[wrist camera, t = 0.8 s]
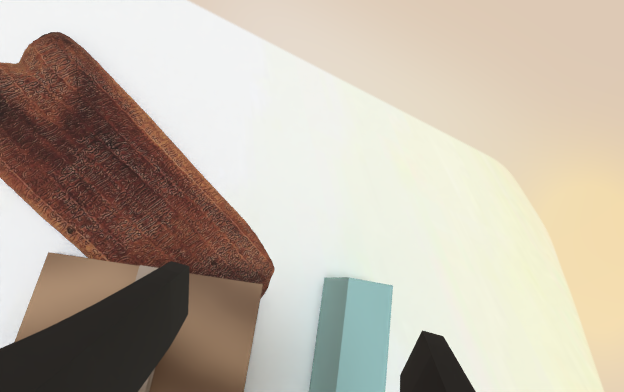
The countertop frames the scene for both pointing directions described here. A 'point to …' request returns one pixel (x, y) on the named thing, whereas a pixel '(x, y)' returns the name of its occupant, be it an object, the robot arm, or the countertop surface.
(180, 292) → the robot arm
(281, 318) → the countertop surface
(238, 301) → the ridge
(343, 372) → the teal rectangular bar
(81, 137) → the wooden tablet
